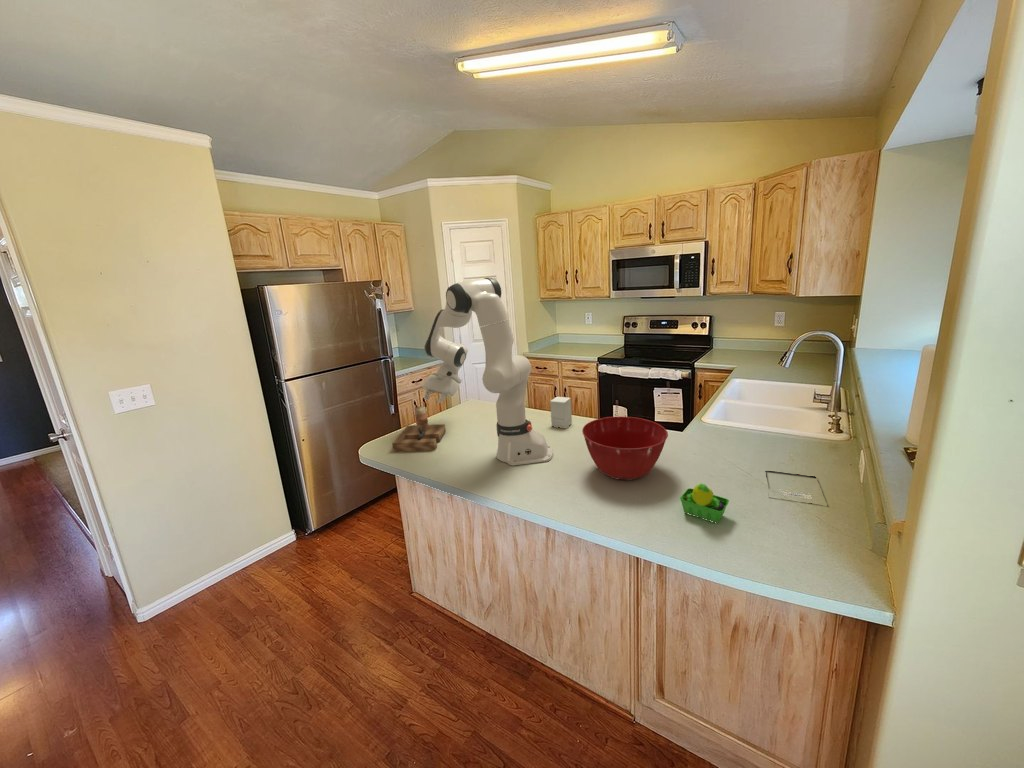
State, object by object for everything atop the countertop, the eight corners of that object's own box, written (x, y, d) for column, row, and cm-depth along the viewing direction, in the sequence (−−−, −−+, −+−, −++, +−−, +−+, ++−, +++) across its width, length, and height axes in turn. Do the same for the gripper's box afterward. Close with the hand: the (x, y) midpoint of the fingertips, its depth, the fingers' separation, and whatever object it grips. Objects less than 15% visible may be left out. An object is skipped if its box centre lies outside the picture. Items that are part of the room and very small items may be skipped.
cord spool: (430, 426, 193) (427, 406, 191) (427, 431, 189) (424, 410, 186) (419, 427, 194) (416, 406, 191) (415, 431, 189) (412, 410, 186)
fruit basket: (728, 515, 119) (731, 479, 116) (719, 530, 113) (721, 493, 110) (687, 502, 127) (689, 468, 124) (676, 516, 121) (677, 481, 118)
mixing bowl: (663, 455, 158) (664, 416, 153) (670, 495, 131) (671, 449, 127) (587, 451, 165) (586, 414, 161) (579, 488, 139) (577, 445, 135)
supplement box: (572, 423, 195) (571, 397, 192) (565, 429, 189) (564, 402, 186) (558, 421, 199) (556, 396, 196) (551, 426, 193) (549, 400, 190)
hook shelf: (445, 432, 196) (443, 416, 194) (435, 450, 177) (432, 432, 175) (408, 433, 198) (405, 417, 196) (393, 452, 179) (390, 434, 177)
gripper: (428, 369, 202) (413, 394, 198) (455, 374, 188) (441, 400, 184) (436, 376, 206) (422, 400, 202) (464, 381, 193) (450, 407, 188)
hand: (432, 400), depth 193 cm, fingers open, 8 cm apart
